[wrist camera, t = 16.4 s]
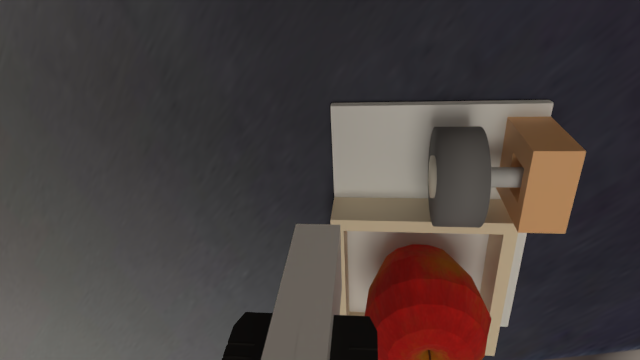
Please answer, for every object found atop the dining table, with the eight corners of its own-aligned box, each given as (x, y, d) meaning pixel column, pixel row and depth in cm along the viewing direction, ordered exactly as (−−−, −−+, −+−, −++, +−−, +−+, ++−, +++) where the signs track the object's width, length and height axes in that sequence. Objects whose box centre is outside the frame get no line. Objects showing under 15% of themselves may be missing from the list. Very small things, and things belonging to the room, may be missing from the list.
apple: (387, 310, 42) (391, 431, 31) (349, 239, 39) (338, 348, 28) (484, 284, 39) (523, 407, 29) (451, 205, 36) (482, 313, 25)
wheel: (423, 194, 35) (432, 247, 29) (429, 112, 32) (441, 151, 26) (529, 196, 34) (562, 250, 28) (546, 111, 31) (588, 151, 25)
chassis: (340, 312, 44) (334, 370, 38) (331, 103, 34) (321, 137, 28) (505, 320, 42) (526, 383, 36) (549, 99, 32) (590, 135, 26)
